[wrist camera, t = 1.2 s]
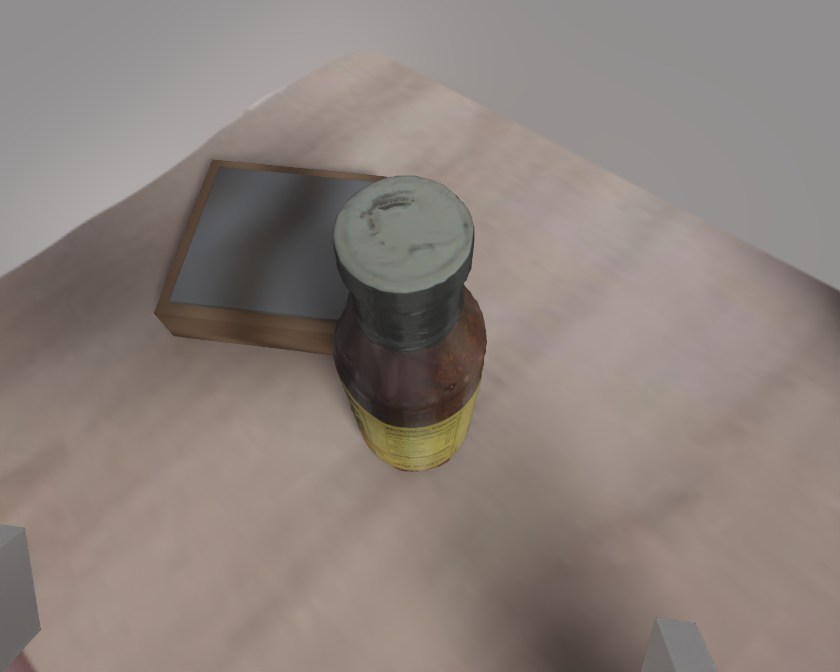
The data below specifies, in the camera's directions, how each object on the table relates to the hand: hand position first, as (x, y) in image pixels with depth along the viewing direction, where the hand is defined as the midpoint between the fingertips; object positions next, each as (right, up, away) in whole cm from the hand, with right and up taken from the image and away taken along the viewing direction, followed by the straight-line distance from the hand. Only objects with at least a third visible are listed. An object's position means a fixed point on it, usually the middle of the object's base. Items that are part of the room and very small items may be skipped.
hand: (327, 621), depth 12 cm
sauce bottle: (+2, 0, +22) cm, 22 cm away
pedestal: (-7, +11, +27) cm, 30 cm away
